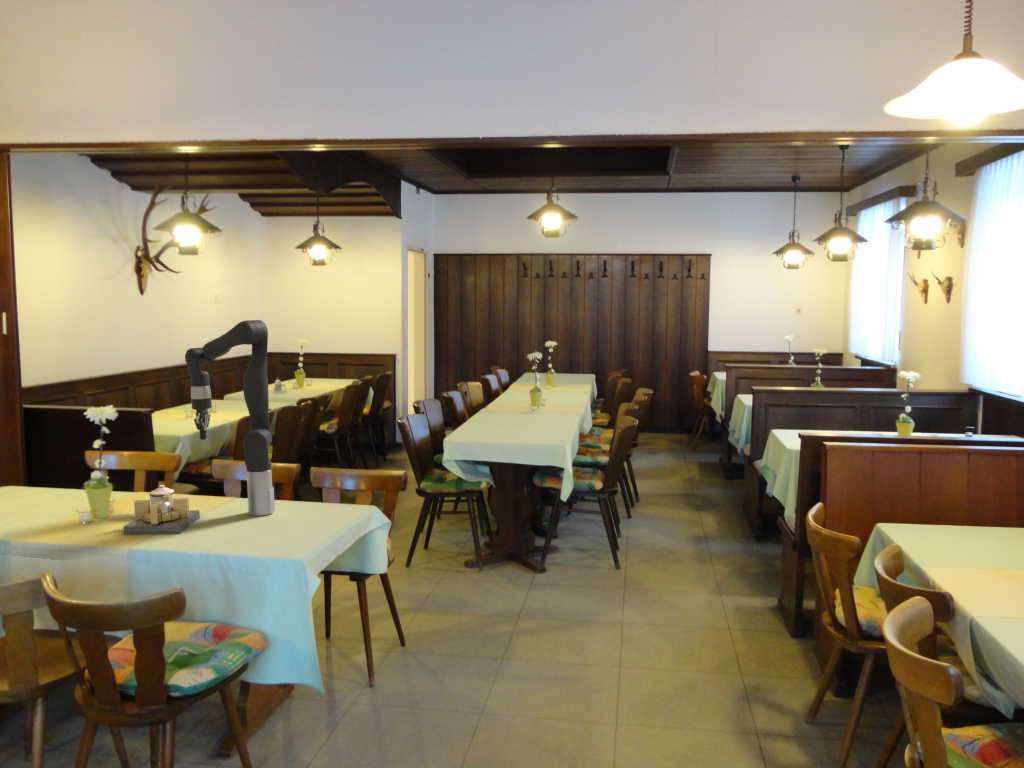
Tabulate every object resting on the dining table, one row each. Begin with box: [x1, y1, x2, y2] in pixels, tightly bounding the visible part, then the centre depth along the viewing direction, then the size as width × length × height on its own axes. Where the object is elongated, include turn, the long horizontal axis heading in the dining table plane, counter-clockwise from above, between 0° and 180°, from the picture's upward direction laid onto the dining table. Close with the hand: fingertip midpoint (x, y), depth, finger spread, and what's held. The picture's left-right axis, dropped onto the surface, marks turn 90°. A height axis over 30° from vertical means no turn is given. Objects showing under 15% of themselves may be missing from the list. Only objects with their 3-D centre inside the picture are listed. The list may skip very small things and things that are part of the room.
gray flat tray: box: [123, 500, 201, 536], centre depth 296 cm, size 20×20×9 cm
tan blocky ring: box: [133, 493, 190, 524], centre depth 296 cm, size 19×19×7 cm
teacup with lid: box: [148, 484, 176, 506], centre depth 313 cm, size 12×9×12 cm
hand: (203, 439), depth 324 cm, fingers closed
